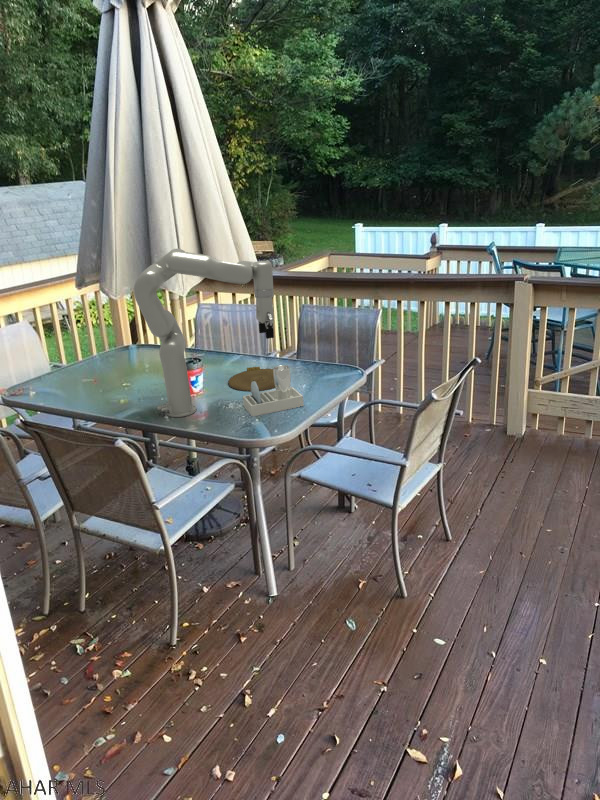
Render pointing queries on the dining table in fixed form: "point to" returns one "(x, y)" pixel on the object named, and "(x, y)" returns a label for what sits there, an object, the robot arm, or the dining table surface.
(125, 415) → the dining table surface
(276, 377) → the beer glass
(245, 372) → the decorative disc
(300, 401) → the rack
